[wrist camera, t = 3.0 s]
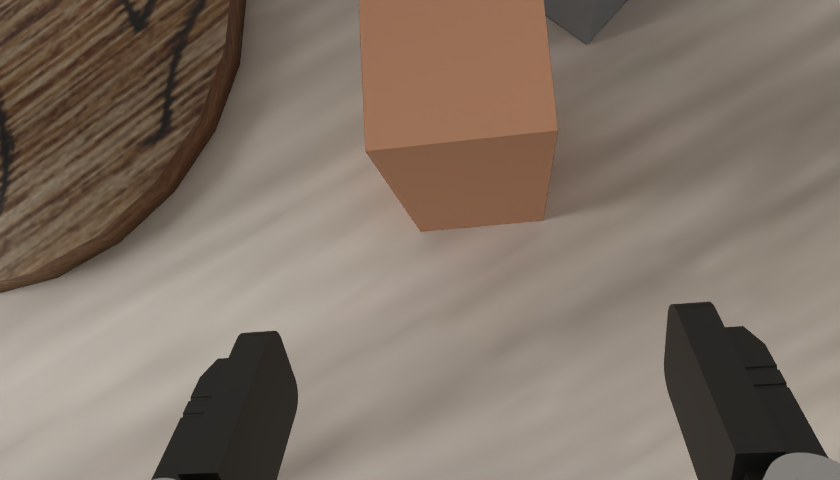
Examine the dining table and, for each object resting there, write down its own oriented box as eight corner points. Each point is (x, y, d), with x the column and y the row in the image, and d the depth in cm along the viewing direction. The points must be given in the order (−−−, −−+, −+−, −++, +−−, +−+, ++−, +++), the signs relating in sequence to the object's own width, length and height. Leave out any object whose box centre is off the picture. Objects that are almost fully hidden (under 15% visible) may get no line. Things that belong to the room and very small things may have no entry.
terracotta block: (420, 231, 27) (365, 151, 17) (413, 118, 28) (358, -19, 18) (542, 220, 26) (558, 130, 16) (531, 104, 27) (538, -44, 18)
